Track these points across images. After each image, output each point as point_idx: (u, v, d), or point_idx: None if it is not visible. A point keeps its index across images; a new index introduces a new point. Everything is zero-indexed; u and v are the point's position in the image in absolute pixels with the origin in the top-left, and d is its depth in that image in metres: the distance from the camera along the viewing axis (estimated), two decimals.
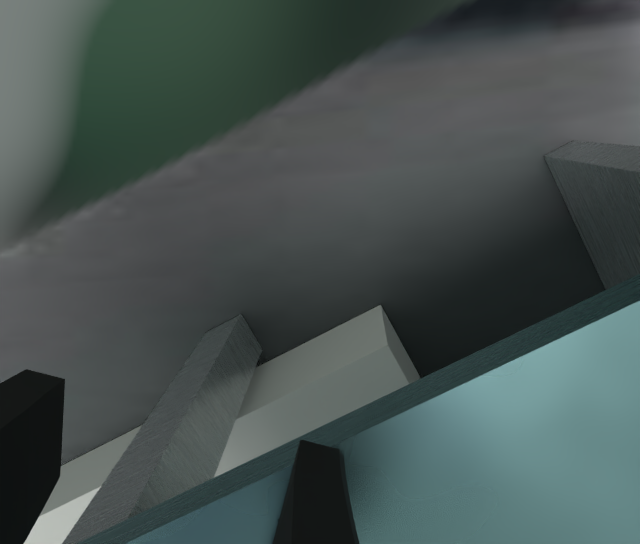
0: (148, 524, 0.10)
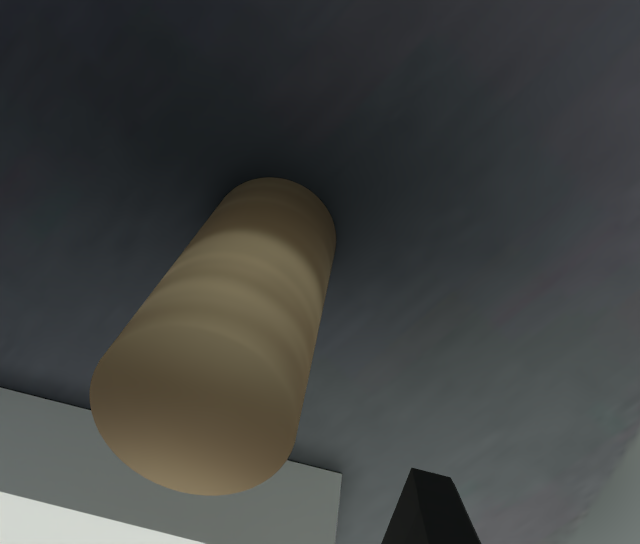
0: None
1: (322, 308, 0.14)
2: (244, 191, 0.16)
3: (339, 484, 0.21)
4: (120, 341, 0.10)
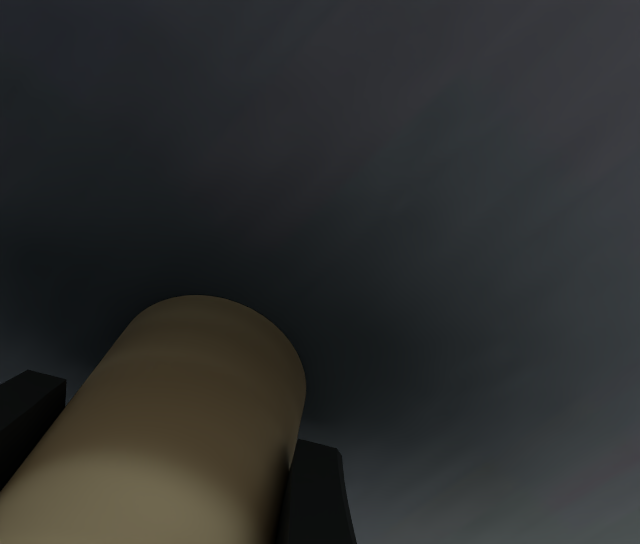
0: None
1: None
2: (151, 328, 0.10)
3: None
4: None
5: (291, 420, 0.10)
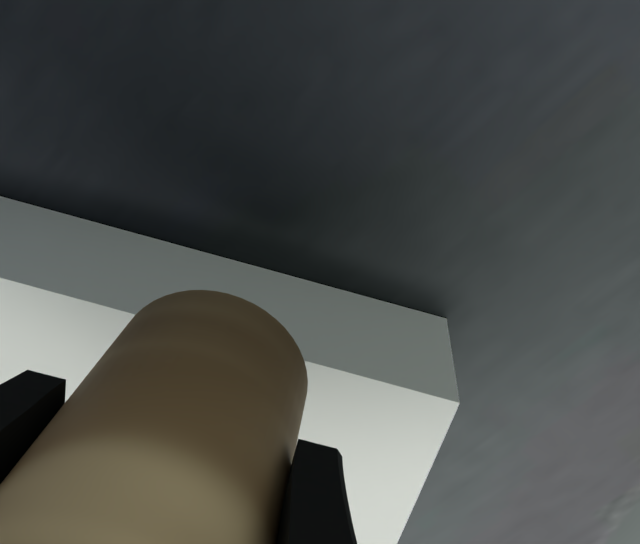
0: None
1: None
2: (155, 321, 0.10)
3: (446, 326, 0.18)
4: None
5: (294, 414, 0.10)
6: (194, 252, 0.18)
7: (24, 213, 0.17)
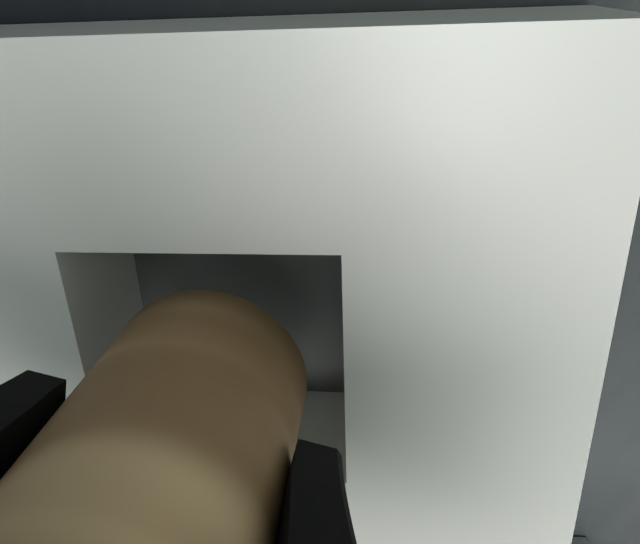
0: None
1: None
2: (156, 319, 0.10)
3: (593, 6, 0.11)
4: None
5: (294, 414, 0.10)
6: (197, 18, 0.12)
7: None
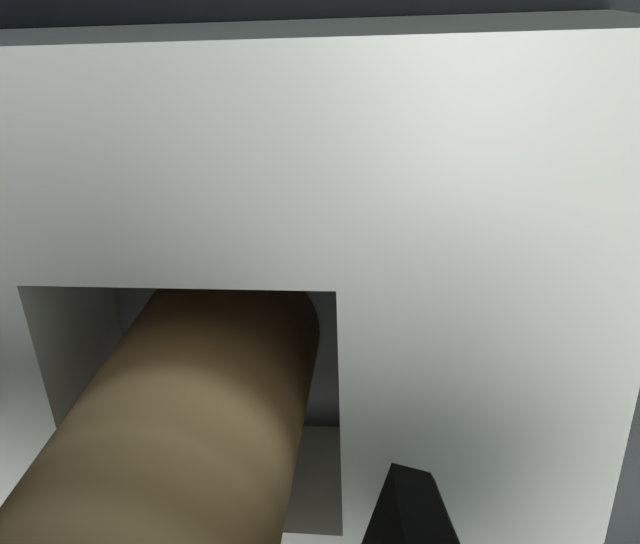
0: None
1: None
2: None
3: (616, 10, 0.10)
4: None
5: (309, 358, 0.11)
6: (179, 24, 0.11)
7: None
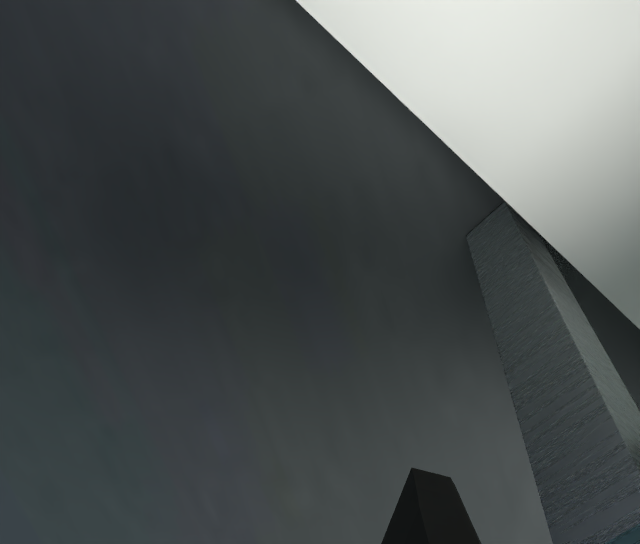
0: None
1: None
2: None
3: None
4: None
5: None
6: None
7: None
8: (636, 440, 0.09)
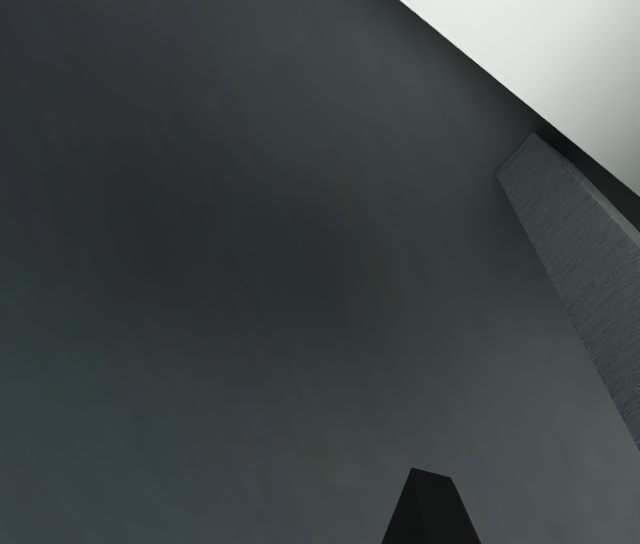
0: None
1: None
2: None
3: None
4: None
5: None
6: None
7: None
8: None
